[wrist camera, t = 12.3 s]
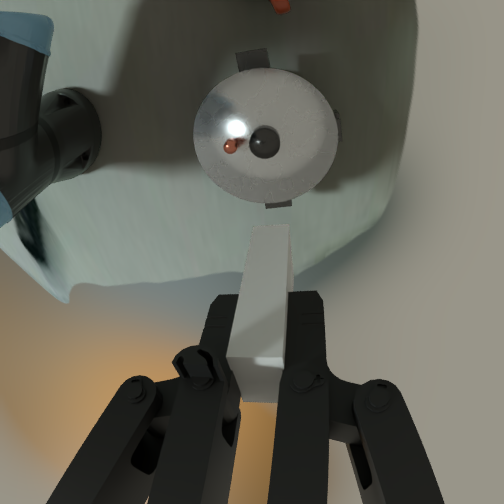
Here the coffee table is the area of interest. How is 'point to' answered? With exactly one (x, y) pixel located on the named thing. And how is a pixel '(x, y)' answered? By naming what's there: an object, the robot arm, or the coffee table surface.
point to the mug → (281, 6)
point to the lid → (266, 135)
